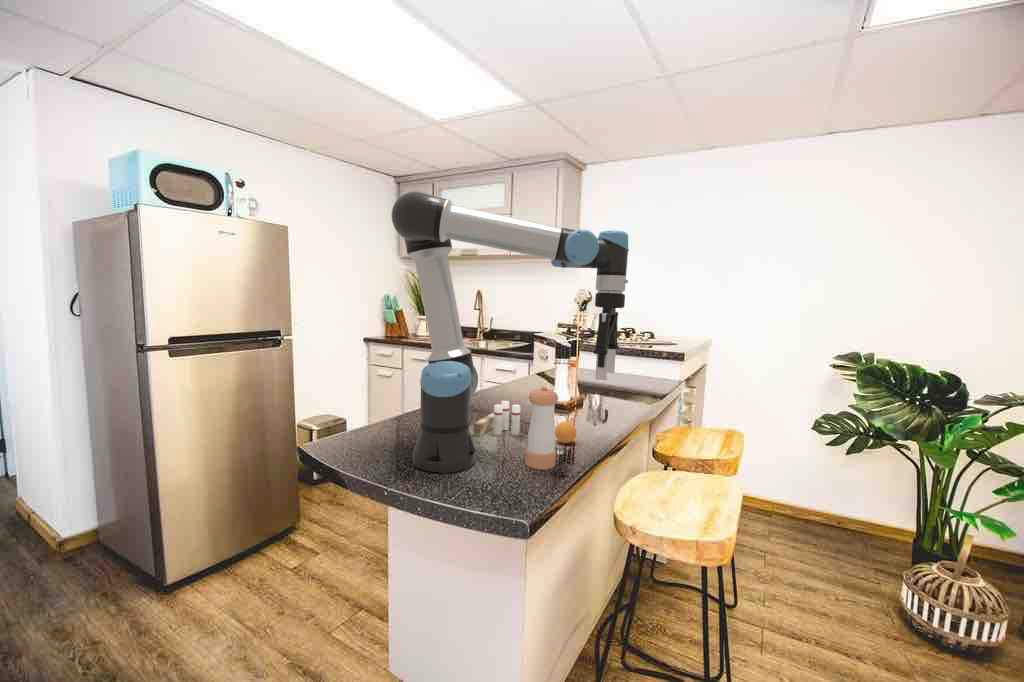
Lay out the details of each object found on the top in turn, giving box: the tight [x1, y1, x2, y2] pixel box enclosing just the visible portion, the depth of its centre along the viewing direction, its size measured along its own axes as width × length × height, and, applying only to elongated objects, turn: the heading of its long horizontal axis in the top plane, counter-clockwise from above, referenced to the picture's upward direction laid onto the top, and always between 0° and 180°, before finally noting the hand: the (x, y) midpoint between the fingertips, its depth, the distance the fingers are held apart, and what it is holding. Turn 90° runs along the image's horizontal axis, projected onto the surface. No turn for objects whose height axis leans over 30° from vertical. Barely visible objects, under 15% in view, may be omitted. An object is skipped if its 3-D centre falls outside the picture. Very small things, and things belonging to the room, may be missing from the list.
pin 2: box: [500, 400, 510, 431], centre depth 133 cm, size 2×2×8 cm
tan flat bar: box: [472, 411, 494, 438], centre depth 133 cm, size 14×2×4 cm, turn 157°
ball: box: [555, 420, 577, 444], centre depth 123 cm, size 6×6×6 cm
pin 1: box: [492, 403, 503, 436], centre depth 128 cm, size 2×2×8 cm
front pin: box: [510, 404, 521, 436], centre depth 129 cm, size 2×2×8 cm
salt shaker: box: [525, 385, 559, 471], centre depth 107 cm, size 7×7×19 cm
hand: (605, 375), depth 118 cm, fingers open, 11 cm apart
